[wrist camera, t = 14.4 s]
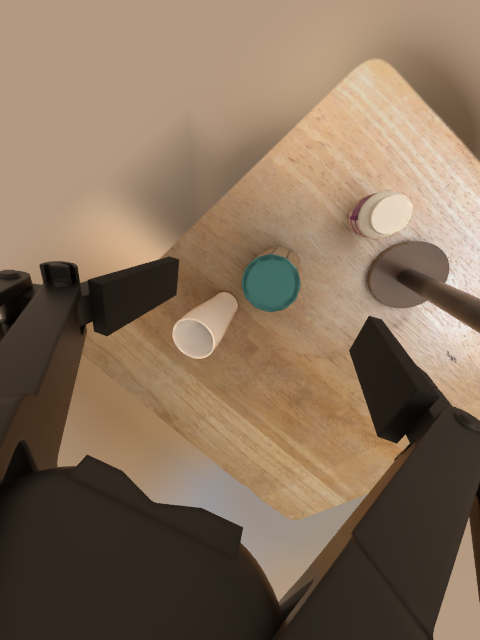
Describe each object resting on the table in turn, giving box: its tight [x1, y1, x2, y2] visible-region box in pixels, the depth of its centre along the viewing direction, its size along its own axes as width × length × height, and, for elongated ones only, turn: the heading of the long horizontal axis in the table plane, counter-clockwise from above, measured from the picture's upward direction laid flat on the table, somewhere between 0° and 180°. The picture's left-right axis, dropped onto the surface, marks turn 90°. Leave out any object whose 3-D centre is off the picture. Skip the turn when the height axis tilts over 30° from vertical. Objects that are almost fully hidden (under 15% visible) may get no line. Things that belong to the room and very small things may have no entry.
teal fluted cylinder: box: [241, 246, 301, 312], centre depth 34 cm, size 8×8×10 cm
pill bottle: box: [349, 190, 413, 239], centre depth 28 cm, size 5×5×10 cm
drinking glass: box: [172, 292, 238, 359], centre depth 37 cm, size 7×7×15 cm
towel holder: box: [368, 241, 480, 333], centre depth 25 cm, size 10×10×20 cm
